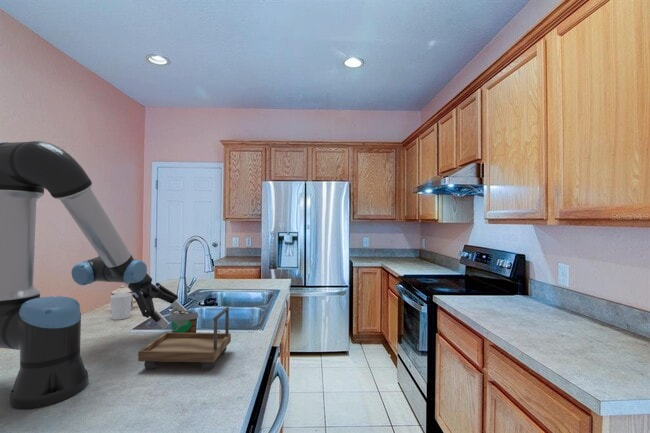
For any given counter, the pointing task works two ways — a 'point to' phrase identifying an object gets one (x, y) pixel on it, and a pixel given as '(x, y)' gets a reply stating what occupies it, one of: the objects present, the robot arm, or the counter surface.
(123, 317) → the white cup
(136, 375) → the counter surface
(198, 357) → the dolly
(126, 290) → the teacup with lid
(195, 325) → the food container
